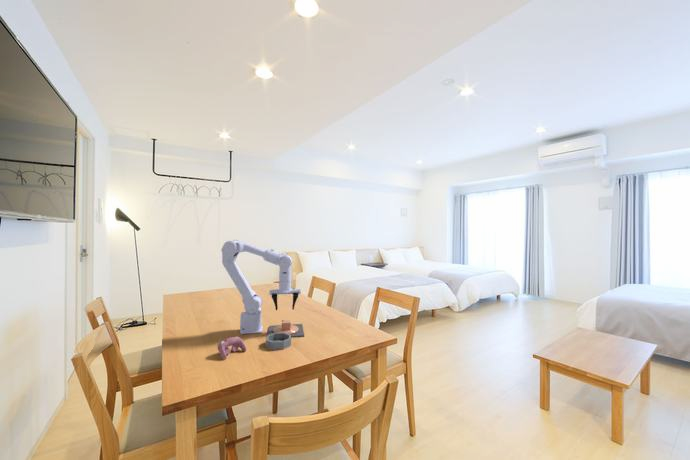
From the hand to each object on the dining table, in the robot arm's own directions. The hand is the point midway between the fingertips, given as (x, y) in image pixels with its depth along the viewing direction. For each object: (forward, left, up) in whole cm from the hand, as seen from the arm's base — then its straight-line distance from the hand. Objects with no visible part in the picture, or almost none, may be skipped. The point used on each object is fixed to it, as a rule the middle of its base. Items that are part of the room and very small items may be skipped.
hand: (284, 309), depth 136 cm
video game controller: (-20, -22, -10) cm, 31 cm away
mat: (+1, -2, -10) cm, 10 cm away
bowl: (-2, -16, -10) cm, 19 cm away
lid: (+1, -3, -9) cm, 10 cm away
